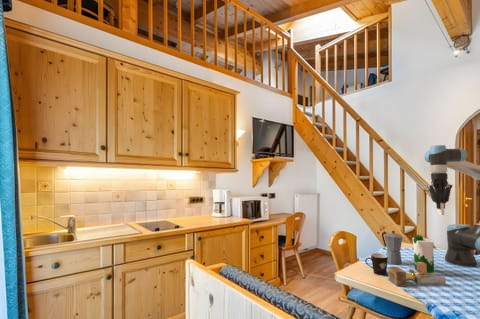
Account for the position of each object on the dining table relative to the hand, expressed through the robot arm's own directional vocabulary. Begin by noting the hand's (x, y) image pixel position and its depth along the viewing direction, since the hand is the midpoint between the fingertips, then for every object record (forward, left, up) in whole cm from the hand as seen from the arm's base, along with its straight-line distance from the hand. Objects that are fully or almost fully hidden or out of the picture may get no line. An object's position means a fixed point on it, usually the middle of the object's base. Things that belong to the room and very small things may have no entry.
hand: (441, 214), depth 153 cm
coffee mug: (+36, -3, -33) cm, 49 cm away
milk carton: (+9, -3, -33) cm, 34 cm away
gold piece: (+26, +11, -31) cm, 42 cm away
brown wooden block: (+33, +11, -32) cm, 47 cm away
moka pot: (+18, -19, -33) cm, 42 cm away
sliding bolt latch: (+17, +11, -32) cm, 38 cm away
